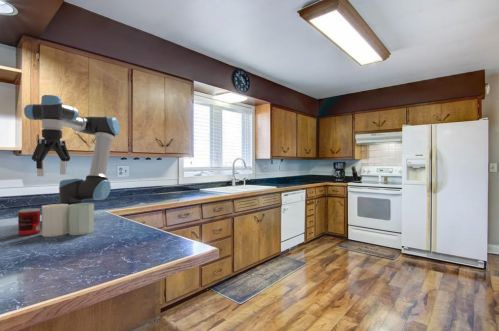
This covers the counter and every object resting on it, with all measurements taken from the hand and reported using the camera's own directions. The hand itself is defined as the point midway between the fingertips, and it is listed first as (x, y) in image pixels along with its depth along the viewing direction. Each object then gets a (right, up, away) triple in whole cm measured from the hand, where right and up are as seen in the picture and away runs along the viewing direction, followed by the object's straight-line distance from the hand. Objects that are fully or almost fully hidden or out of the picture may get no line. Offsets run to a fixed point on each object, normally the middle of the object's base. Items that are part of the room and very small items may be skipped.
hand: (52, 175), depth 123 cm
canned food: (-9, -27, -2) cm, 29 cm away
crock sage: (+13, -27, 0) cm, 30 cm away
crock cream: (+3, -27, -2) cm, 27 cm away
